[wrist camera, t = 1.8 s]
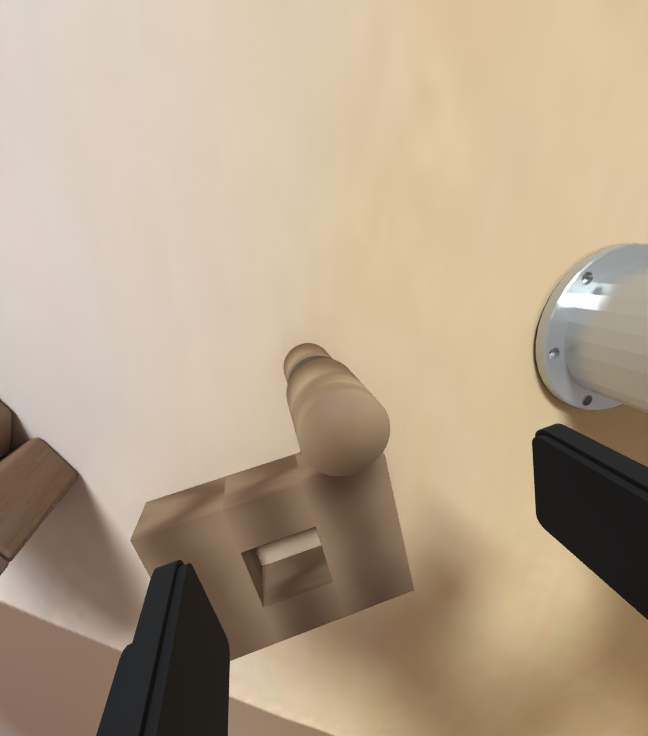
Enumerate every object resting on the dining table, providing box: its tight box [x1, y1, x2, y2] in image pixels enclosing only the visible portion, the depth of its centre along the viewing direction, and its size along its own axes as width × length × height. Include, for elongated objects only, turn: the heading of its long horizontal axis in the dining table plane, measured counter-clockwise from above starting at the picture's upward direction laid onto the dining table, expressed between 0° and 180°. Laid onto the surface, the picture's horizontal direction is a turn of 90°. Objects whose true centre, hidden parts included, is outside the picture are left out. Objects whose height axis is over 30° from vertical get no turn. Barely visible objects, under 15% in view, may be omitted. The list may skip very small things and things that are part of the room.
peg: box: [284, 343, 390, 476], centre depth 19 cm, size 4×4×10 cm
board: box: [130, 452, 414, 661], centre depth 26 cm, size 16×12×4 cm
